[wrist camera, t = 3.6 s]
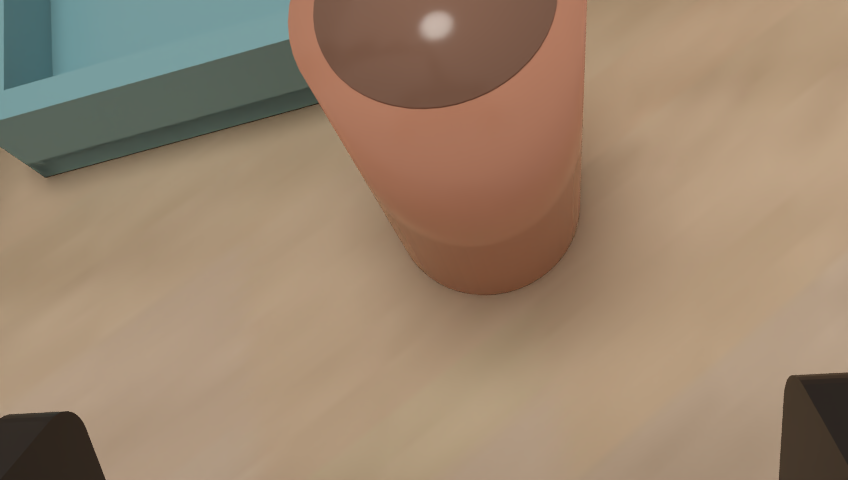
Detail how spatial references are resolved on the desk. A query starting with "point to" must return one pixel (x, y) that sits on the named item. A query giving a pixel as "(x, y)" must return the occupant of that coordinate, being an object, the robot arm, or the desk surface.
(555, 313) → the desk surface
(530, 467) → the desk surface
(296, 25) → the terracotta cup
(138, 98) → the teal tray
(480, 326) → the desk surface
